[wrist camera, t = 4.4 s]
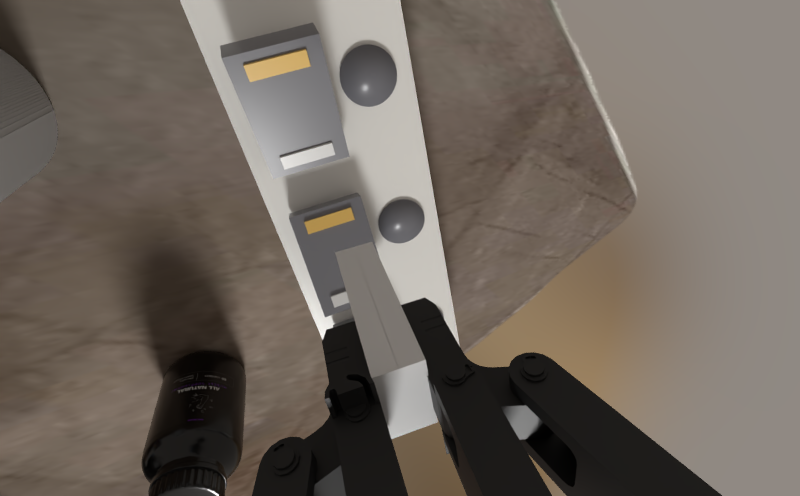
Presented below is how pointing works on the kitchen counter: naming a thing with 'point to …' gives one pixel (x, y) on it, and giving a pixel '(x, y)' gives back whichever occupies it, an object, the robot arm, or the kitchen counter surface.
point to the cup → (23, 126)
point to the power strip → (346, 136)
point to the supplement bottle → (196, 427)
